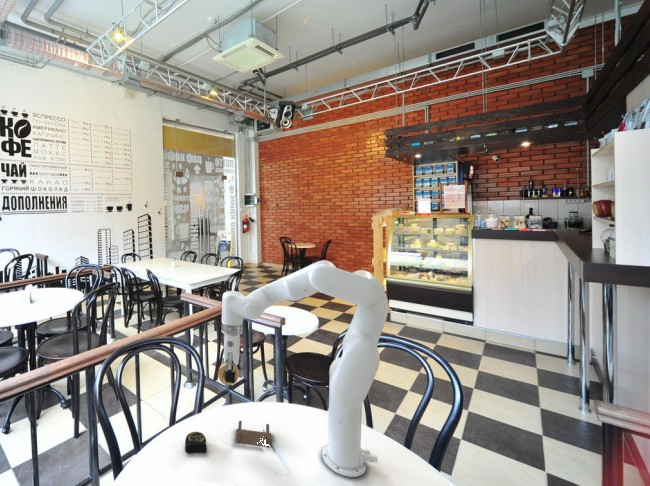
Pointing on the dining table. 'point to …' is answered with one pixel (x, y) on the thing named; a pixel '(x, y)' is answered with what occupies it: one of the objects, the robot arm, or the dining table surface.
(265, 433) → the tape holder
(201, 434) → the tape measure
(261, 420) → the dining table surface
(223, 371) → the tape roll
